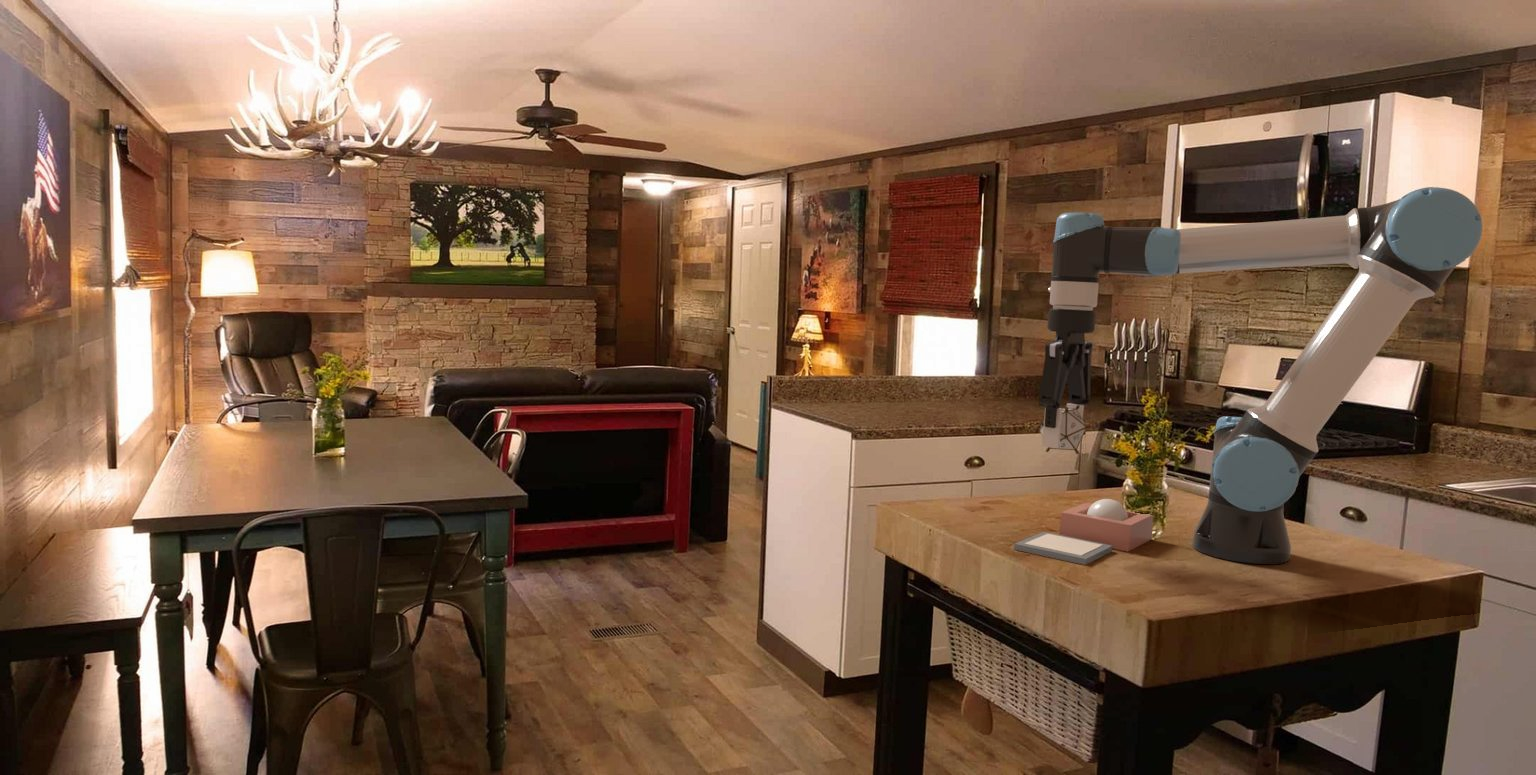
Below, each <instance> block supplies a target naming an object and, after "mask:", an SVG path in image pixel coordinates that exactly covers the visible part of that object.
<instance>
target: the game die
mask: <svg viewBox="0 0 1536 775" xmlns="http://www.w3.org/2000/svg"><path fill="white" fill-rule="evenodd" d="M1066 407H1067V406H1066ZM1066 407H1060V408H1061V409H1063V410H1062V423H1061V436H1060V448H1058V449H1057V448H1050V447H1046V449H1045V453H1048V452H1049V451H1050V450H1065V451H1074V452H1075V454H1076V455H1079V454H1080V451H1079V450H1078V447H1079V446H1080V444H1081V443H1080V441H1081V442H1082V439H1083V437H1084V436H1085V435H1086V430H1087V429H1091V428H1092V425H1091V424H1088V425H1087V424H1086V422H1085V421H1084V418H1083V419H1082V417H1081V416H1080V414H1079V412H1078V410H1077V409H1079V408H1080V407H1079V405H1078V406H1077V407H1076V409H1074V408H1068V407H1067V408H1066ZM1038 424H1039V426H1040V427H1039V428H1035V430H1034V432H1036V433H1038V432H1039V433H1040V435H1041V437H1042V438H1043V427H1044V419H1043V420H1042V421H1040V422H1039V423H1038Z"/></svg>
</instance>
